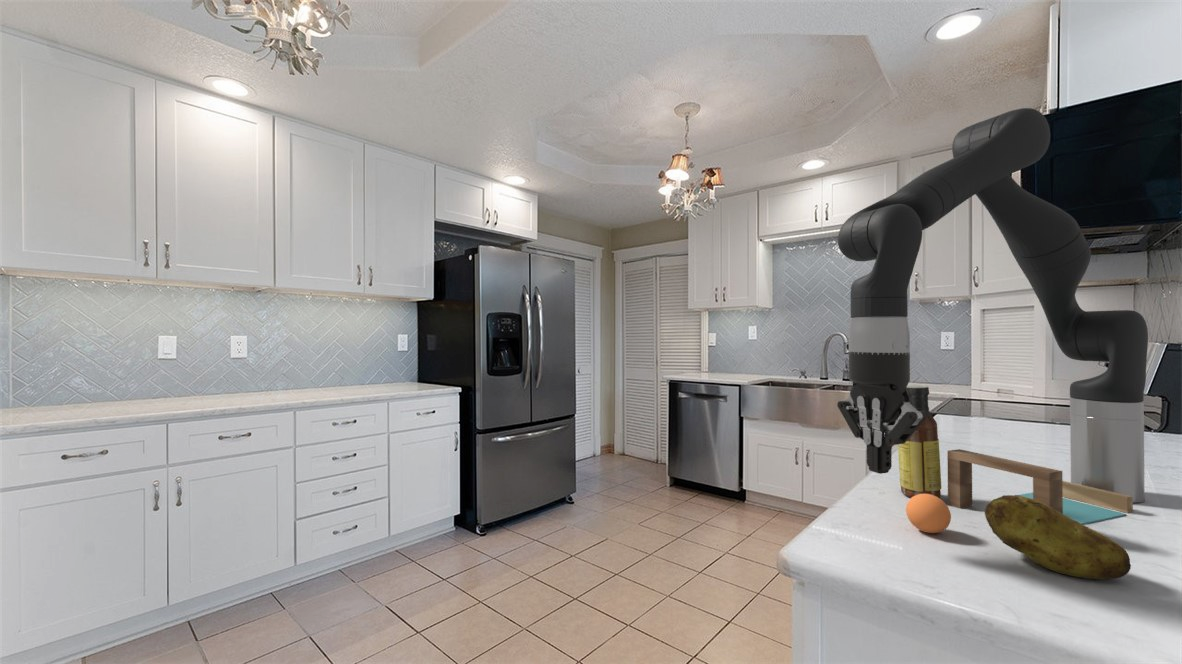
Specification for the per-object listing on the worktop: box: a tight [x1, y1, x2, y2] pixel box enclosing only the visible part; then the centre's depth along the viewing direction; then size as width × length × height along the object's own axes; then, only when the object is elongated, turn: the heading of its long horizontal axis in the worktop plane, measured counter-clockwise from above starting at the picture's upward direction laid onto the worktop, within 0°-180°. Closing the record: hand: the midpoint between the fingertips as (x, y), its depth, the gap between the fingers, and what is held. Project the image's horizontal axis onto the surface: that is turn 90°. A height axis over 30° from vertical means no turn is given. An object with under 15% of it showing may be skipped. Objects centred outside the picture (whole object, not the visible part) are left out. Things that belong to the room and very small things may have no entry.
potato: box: [984, 494, 1132, 580], centre depth 62 cm, size 8×13×8 cm, turn 27°
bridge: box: [946, 448, 1064, 514], centre depth 78 cm, size 3×14×9 cm, turn 19°
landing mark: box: [992, 492, 1127, 525], centre depth 83 cm, size 12×12×1 cm
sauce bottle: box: [897, 384, 942, 499], centre depth 89 cm, size 6×6×20 cm
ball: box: [905, 494, 952, 534], centre depth 73 cm, size 6×6×6 cm
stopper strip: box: [1062, 480, 1134, 514], centre depth 86 cm, size 2×11×2 cm, turn 19°
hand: (878, 471), depth 70 cm, fingers closed
